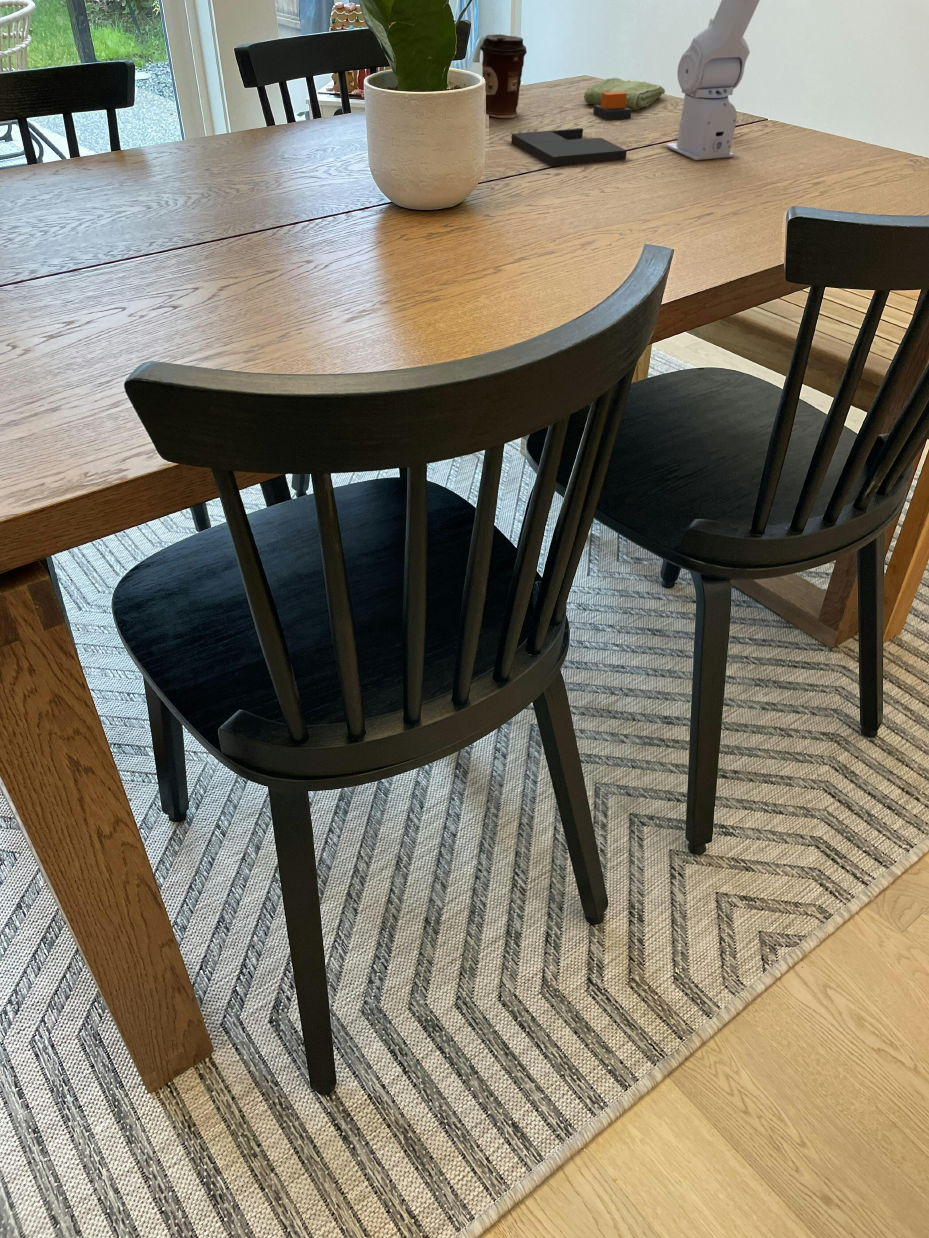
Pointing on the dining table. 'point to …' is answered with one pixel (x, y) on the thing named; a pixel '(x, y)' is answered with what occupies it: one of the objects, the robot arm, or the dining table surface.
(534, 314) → the dining table surface
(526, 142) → the base pad
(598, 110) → the connector pad
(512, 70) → the coffee cup
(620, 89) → the washcloth
